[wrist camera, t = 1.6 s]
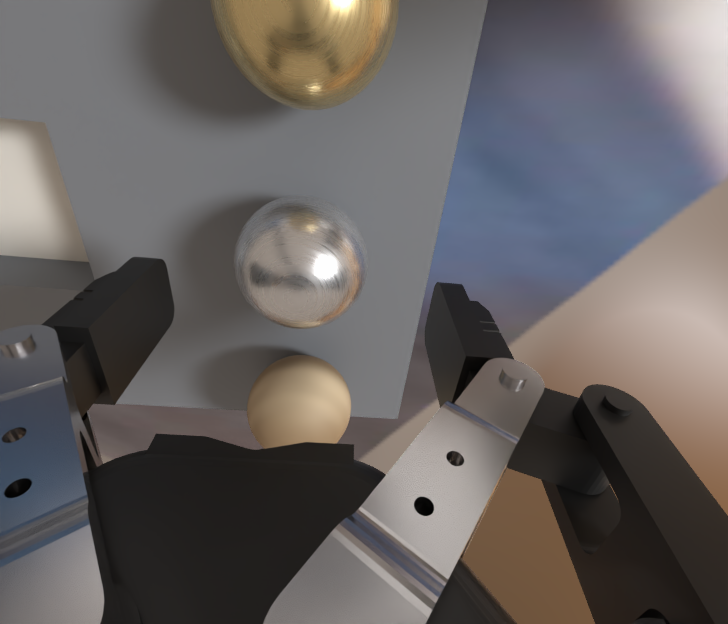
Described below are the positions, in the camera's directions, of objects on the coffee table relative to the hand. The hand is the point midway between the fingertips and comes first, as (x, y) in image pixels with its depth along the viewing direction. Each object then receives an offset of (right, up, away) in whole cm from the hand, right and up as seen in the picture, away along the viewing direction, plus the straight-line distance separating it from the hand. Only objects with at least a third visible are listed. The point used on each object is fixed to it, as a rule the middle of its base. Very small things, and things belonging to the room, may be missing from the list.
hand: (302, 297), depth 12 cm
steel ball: (0, +1, +2) cm, 2 cm away
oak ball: (-1, -5, +5) cm, 7 cm away
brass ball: (+1, +7, -2) cm, 7 cm away
